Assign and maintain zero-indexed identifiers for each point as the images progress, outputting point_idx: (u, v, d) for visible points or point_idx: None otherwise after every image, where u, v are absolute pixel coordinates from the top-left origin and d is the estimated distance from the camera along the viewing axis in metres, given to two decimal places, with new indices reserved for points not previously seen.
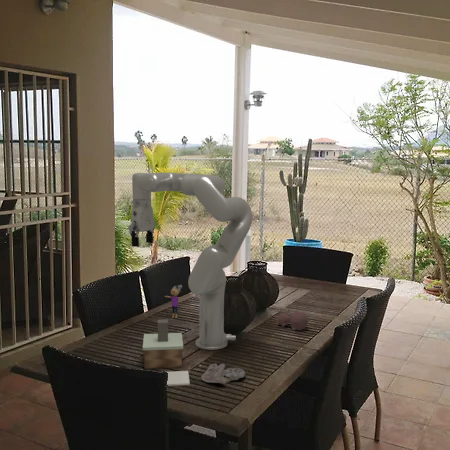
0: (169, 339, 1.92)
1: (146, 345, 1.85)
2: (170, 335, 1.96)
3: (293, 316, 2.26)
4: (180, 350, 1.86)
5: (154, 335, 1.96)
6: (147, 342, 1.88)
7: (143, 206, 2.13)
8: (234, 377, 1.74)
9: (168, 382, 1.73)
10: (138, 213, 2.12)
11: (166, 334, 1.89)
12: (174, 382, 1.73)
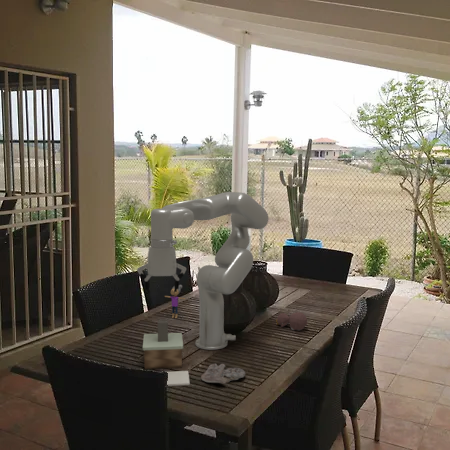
0: (169, 339, 1.92)
1: (146, 345, 1.85)
2: (170, 335, 1.96)
3: (292, 316, 2.26)
4: (180, 350, 1.86)
5: (154, 335, 1.96)
6: (147, 342, 1.88)
7: None
8: (234, 377, 1.74)
9: (168, 382, 1.73)
10: None
11: (166, 334, 1.89)
12: (174, 382, 1.73)
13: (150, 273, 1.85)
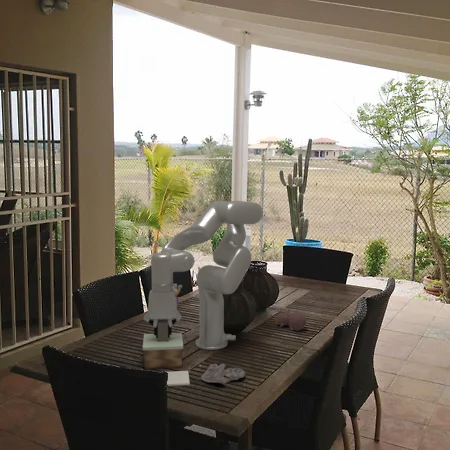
0: (169, 339, 1.92)
1: (146, 345, 1.85)
2: (170, 335, 1.96)
3: (291, 316, 2.26)
4: (180, 350, 1.86)
5: None
6: (147, 342, 1.88)
7: None
8: (234, 377, 1.74)
9: (168, 382, 1.73)
10: None
11: (166, 334, 1.89)
12: (174, 382, 1.73)
13: (151, 316, 1.87)
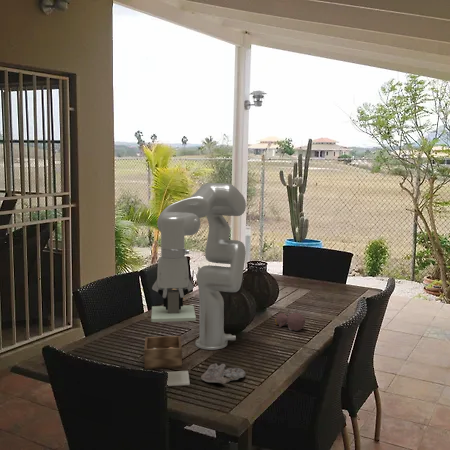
0: (180, 311, 1.74)
1: (155, 316, 1.68)
2: (181, 307, 1.79)
3: (290, 316, 2.26)
4: (180, 350, 1.86)
5: (163, 307, 1.78)
6: (156, 314, 1.71)
7: None
8: (234, 377, 1.74)
9: (168, 382, 1.73)
10: None
11: (177, 305, 1.72)
12: (174, 382, 1.73)
13: (160, 285, 1.70)
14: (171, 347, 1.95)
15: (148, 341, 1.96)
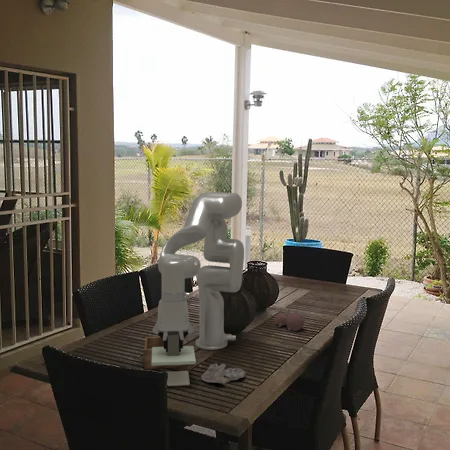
0: (180, 353, 1.76)
1: (155, 360, 1.70)
2: None
3: (289, 316, 2.26)
4: None
5: (163, 348, 1.80)
6: (156, 356, 1.73)
7: None
8: (234, 377, 1.74)
9: (168, 382, 1.73)
10: None
11: (177, 348, 1.73)
12: (174, 382, 1.73)
13: (161, 328, 1.72)
14: None
15: (148, 341, 1.96)
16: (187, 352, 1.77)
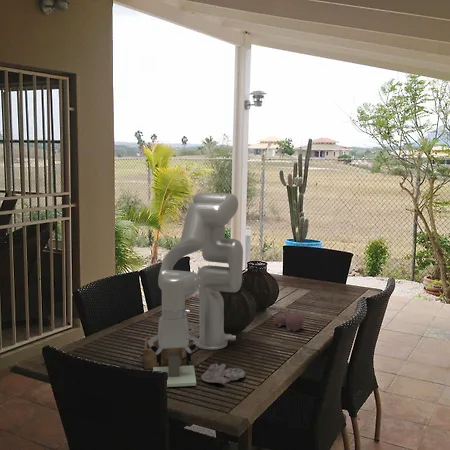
0: (181, 374, 1.77)
1: None
2: (182, 368, 1.82)
3: (288, 316, 2.26)
4: (180, 350, 1.86)
5: (164, 368, 1.81)
6: None
7: None
8: (234, 377, 1.74)
9: None
10: None
11: (178, 369, 1.75)
12: None
13: (161, 345, 1.73)
14: None
15: None
16: (188, 372, 1.78)
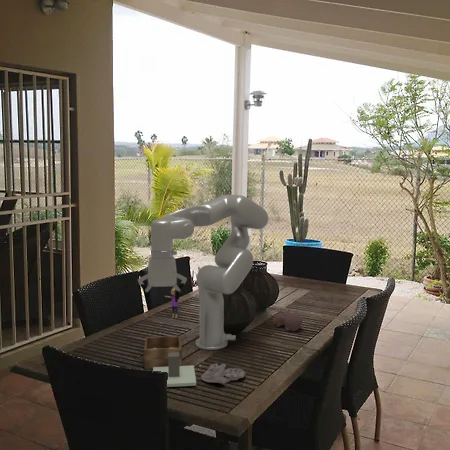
0: (181, 374, 1.77)
1: None
2: (182, 368, 1.82)
3: (286, 316, 2.25)
4: (180, 350, 1.86)
5: (164, 368, 1.81)
6: None
7: None
8: (234, 377, 1.74)
9: None
10: None
11: (178, 369, 1.75)
12: None
13: (151, 284, 1.86)
14: (171, 347, 1.95)
15: (148, 341, 1.96)
16: (188, 372, 1.78)
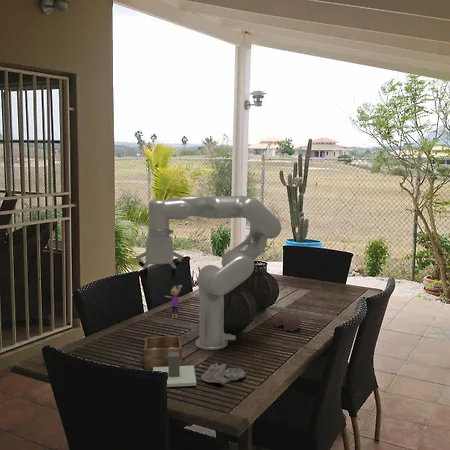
0: (181, 374, 1.77)
1: None
2: (182, 368, 1.82)
3: (285, 316, 2.25)
4: (180, 350, 1.86)
5: (164, 368, 1.81)
6: None
7: None
8: (234, 377, 1.74)
9: None
10: None
11: (178, 369, 1.75)
12: None
13: (148, 261, 1.95)
14: (171, 347, 1.95)
15: (148, 341, 1.96)
16: (188, 372, 1.78)
